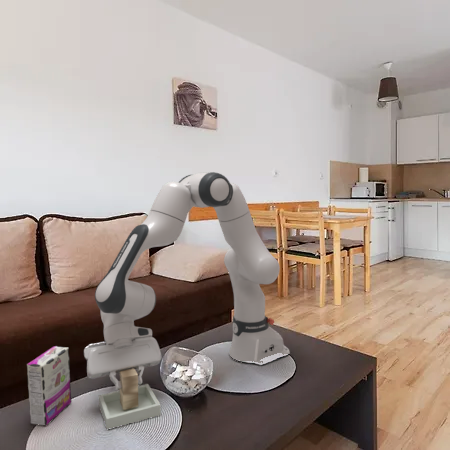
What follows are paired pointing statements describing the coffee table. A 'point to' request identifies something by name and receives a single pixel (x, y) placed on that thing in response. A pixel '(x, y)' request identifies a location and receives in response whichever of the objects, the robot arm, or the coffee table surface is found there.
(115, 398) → the tray
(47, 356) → the candy bar box
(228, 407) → the coffee table surface
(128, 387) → the maple block
